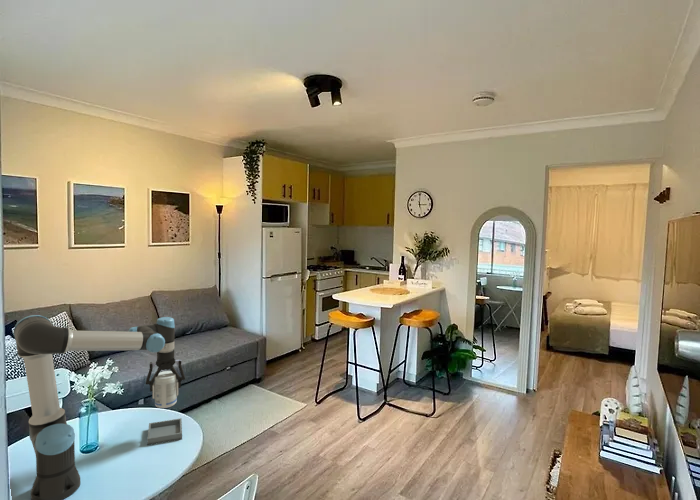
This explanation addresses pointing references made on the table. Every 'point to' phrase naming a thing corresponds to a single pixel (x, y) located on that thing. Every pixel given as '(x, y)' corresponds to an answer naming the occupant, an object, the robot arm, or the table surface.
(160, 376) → the supplement tub
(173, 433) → the tray
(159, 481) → the table surface
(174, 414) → the table surface
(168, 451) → the table surface
